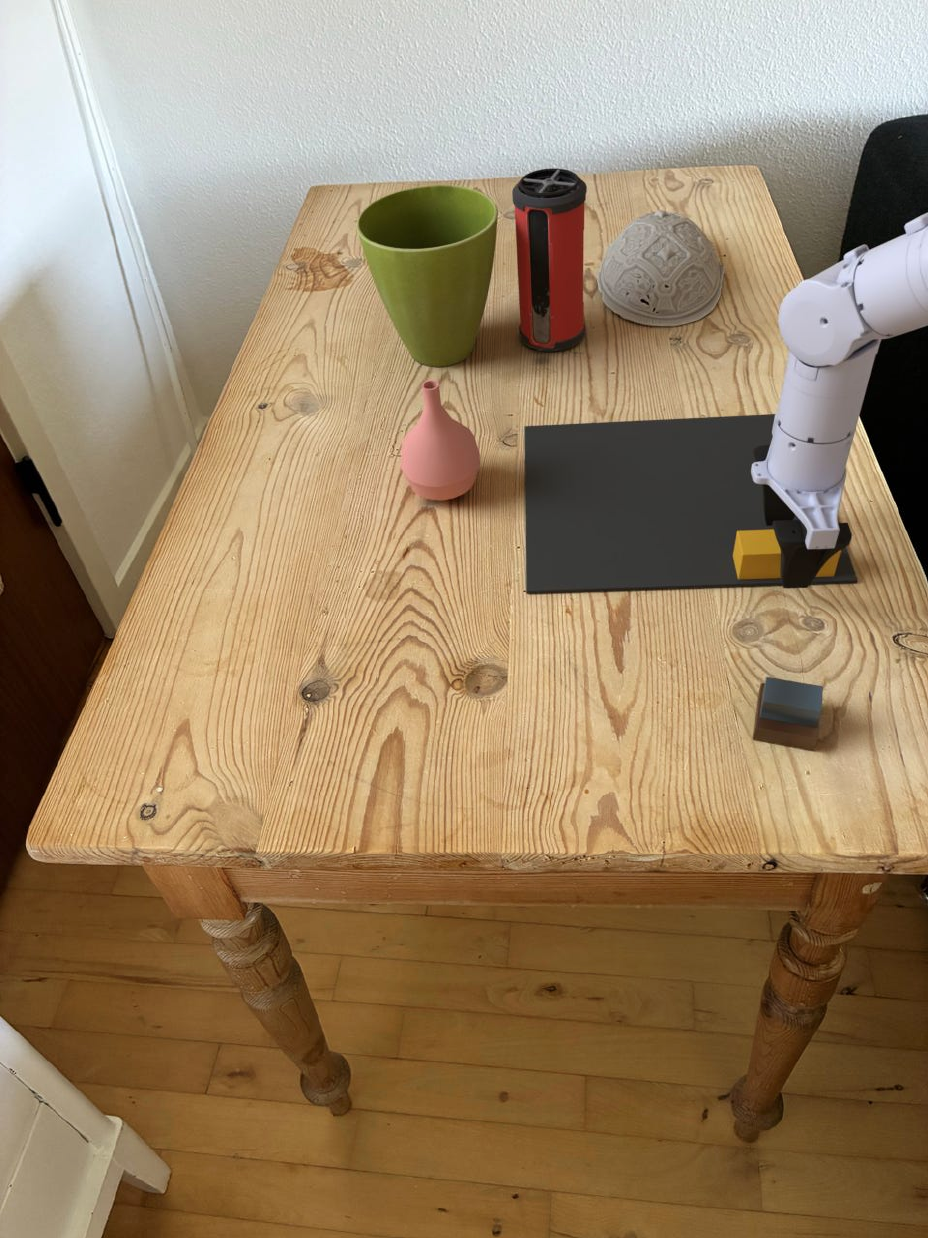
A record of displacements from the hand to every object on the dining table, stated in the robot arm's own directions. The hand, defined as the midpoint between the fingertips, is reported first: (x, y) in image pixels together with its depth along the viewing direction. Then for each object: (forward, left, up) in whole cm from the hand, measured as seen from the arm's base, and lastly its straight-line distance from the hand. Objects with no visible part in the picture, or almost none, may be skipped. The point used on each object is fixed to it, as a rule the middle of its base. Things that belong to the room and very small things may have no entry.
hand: (785, 553), depth 80 cm
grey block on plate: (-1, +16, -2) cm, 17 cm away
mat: (+11, -8, -2) cm, 13 cm away
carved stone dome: (+19, -50, -2) cm, 53 cm away
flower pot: (+41, -29, -2) cm, 50 cm away
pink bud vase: (+33, -5, -2) cm, 33 cm away
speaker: (+29, -34, -2) cm, 44 cm away
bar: (0, 0, -2) cm, 2 cm away
